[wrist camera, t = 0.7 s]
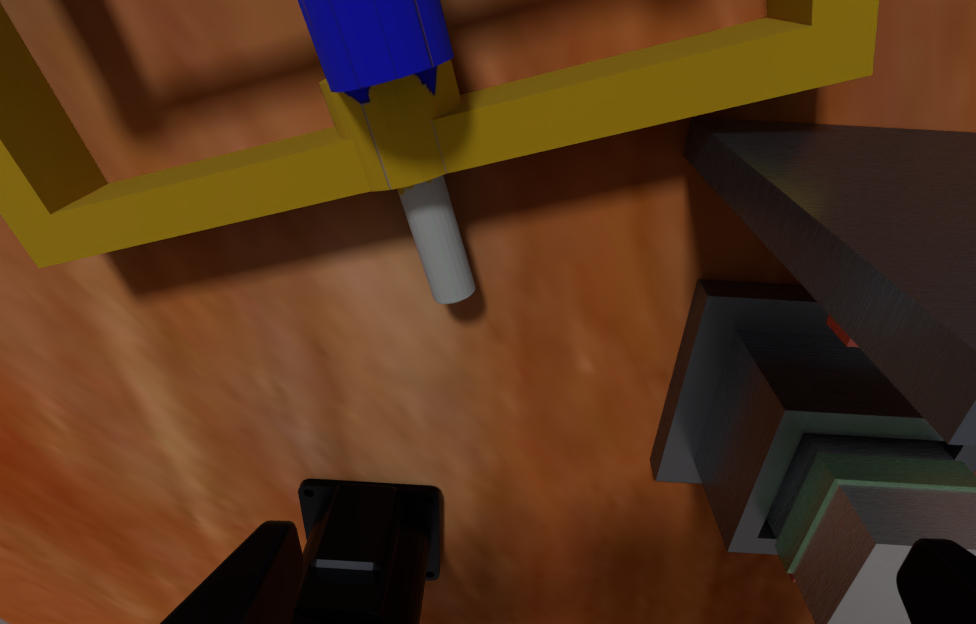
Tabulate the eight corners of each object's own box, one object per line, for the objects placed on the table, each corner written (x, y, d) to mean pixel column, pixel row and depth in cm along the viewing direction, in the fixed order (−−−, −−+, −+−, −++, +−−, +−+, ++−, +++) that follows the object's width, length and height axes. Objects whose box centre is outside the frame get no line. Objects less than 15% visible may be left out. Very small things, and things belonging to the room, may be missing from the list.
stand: (888, 473, 25) (1187, 875, 14) (615, 458, 25) (698, 843, 14) (1080, 138, 18) (2052, 428, 7) (691, 116, 18) (995, 368, 7)
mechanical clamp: (-822, -335, 9) (1353, -1575, 5) (-340, -225, 15) (913, -770, 10) (-49, 455, 18) (971, 273, 14) (77, 346, 24) (843, 189, 19)
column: (842, 463, 22) (964, 645, 16) (733, 456, 22) (816, 636, 16) (885, 377, 20) (1044, 551, 14) (765, 370, 20) (873, 540, 14)
